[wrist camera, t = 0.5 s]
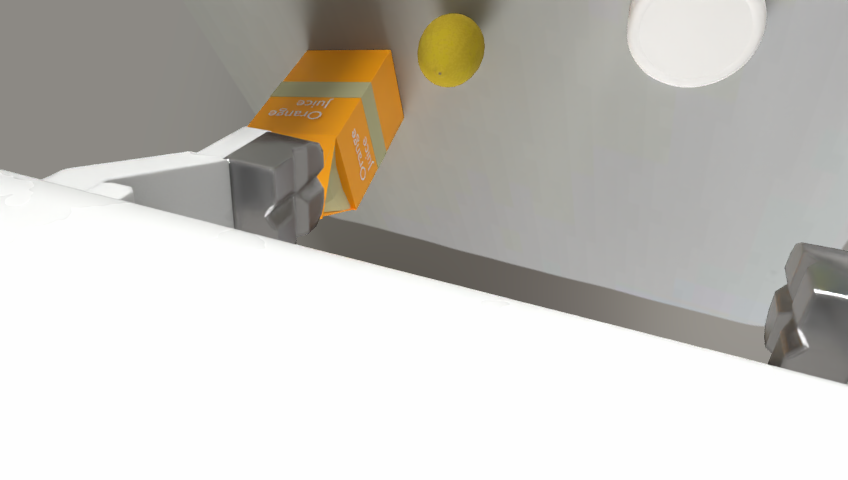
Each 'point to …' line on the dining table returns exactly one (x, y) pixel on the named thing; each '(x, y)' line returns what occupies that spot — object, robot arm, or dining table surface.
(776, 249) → the dining table surface
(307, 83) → the orange juice
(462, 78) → the lemon
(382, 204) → the dining table surface
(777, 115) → the dining table surface
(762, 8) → the coaster
